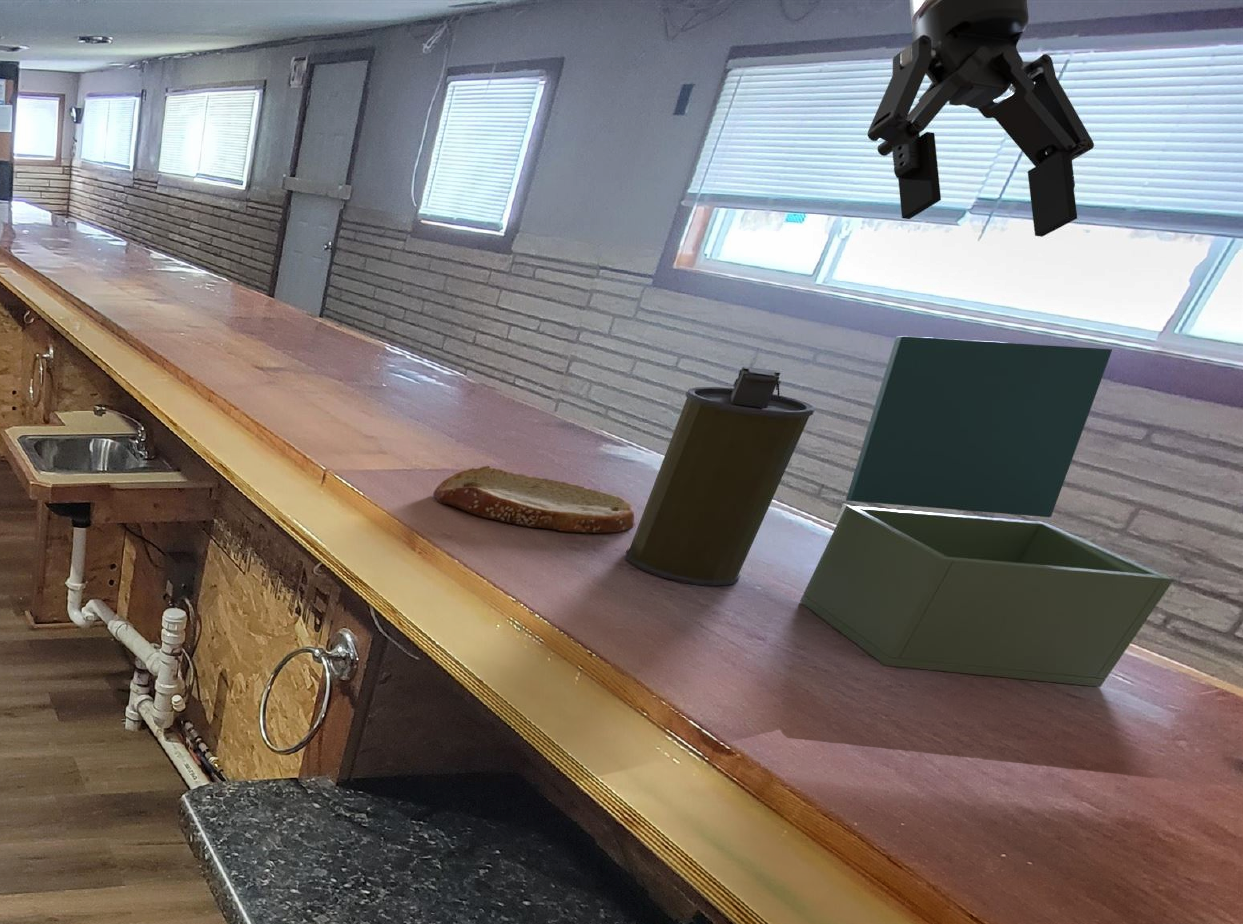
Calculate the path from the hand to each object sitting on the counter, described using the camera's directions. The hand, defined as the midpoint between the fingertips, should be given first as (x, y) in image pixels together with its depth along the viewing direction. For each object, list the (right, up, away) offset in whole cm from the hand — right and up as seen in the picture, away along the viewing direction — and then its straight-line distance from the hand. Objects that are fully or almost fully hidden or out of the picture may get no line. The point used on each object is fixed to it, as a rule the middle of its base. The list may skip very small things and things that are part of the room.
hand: (989, 218), depth 87 cm
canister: (-17, -29, +15) cm, 37 cm away
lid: (-1, -19, 0) cm, 19 cm away
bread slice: (-25, -21, +30) cm, 44 cm away
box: (-3, -38, +1) cm, 38 cm away
